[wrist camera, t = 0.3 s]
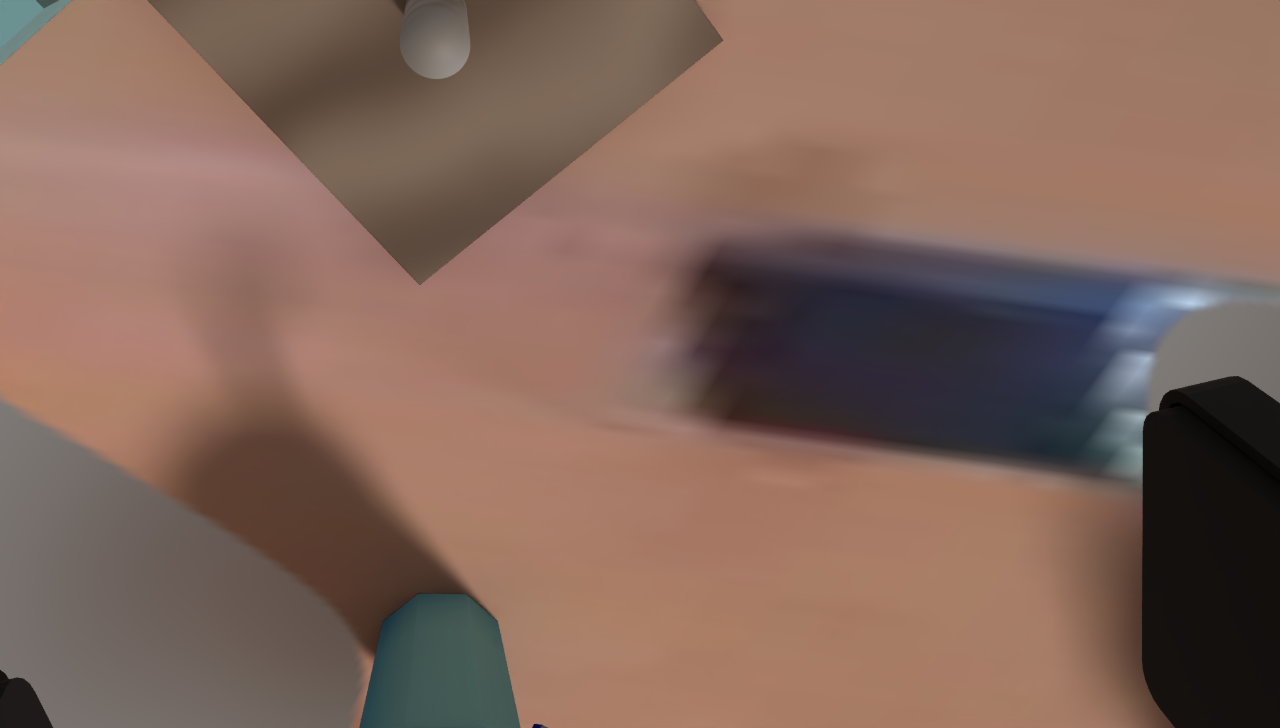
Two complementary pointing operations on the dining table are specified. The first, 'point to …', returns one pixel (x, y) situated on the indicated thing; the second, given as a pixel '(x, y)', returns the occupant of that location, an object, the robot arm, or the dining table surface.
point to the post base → (441, 96)
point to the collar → (23, 21)
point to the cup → (440, 668)
